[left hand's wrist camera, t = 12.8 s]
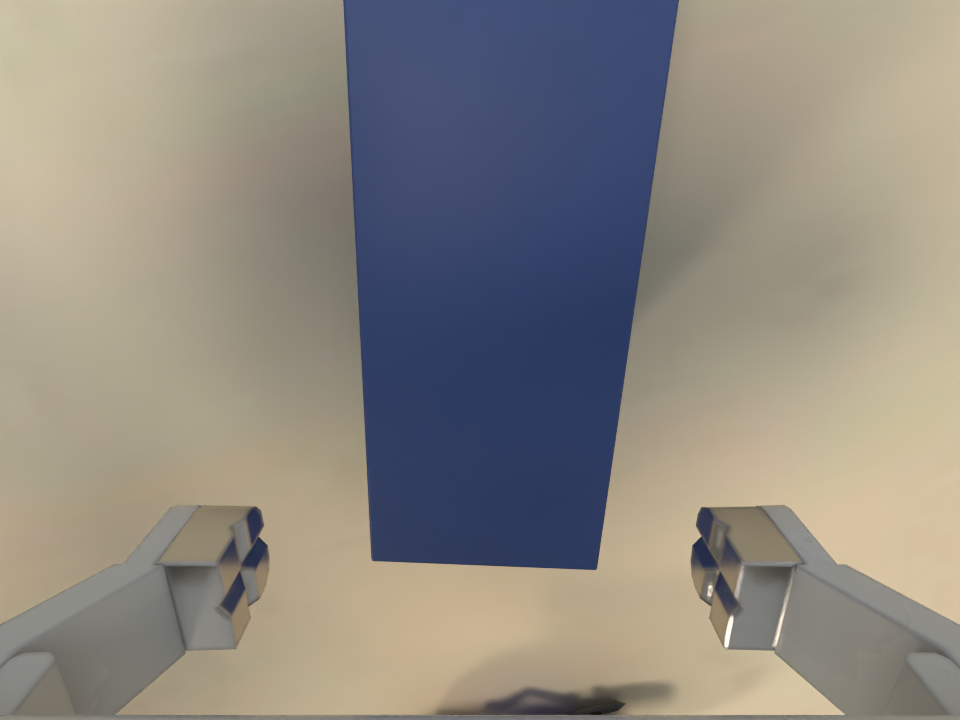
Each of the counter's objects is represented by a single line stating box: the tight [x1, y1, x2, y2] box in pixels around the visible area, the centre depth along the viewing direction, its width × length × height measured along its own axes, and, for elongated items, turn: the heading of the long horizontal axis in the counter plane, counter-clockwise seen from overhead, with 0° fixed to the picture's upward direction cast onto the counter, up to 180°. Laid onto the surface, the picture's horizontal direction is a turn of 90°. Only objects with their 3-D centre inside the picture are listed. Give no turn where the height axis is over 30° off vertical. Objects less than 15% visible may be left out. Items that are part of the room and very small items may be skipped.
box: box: [343, 0, 679, 570], centre depth 16 cm, size 23×6×11 cm, turn 178°
